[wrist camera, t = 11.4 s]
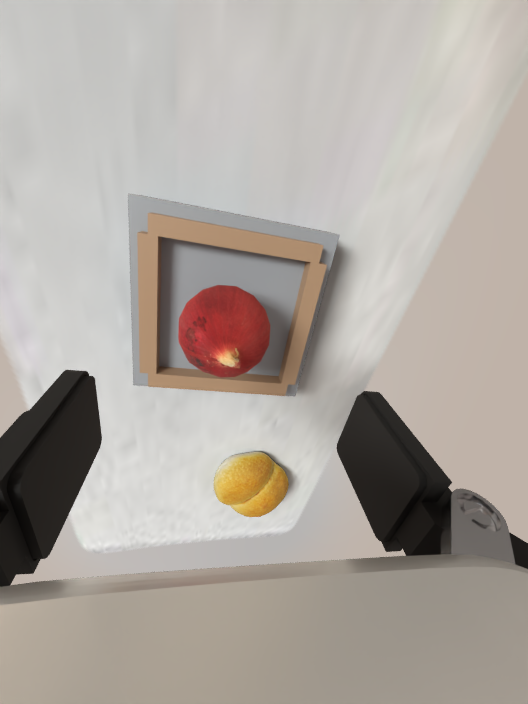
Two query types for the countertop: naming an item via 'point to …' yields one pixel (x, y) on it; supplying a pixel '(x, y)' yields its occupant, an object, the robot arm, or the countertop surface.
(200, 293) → the pomegranate
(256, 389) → the stand
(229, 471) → the bread roll
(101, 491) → the countertop surface
